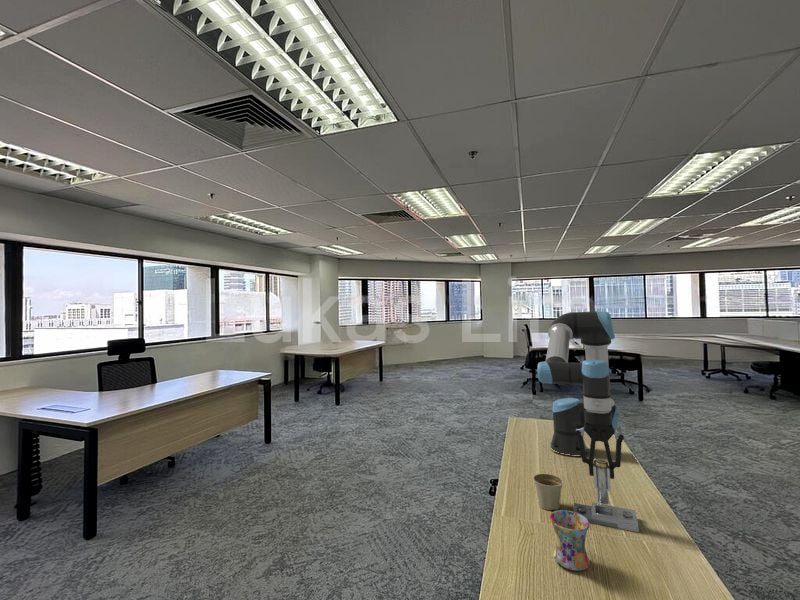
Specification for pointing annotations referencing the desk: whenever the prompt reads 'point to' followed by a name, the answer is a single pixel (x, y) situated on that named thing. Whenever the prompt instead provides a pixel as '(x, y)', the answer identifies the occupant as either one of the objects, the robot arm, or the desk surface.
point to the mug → (570, 539)
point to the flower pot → (548, 490)
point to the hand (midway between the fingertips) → (602, 487)
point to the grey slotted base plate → (609, 516)
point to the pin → (602, 481)
